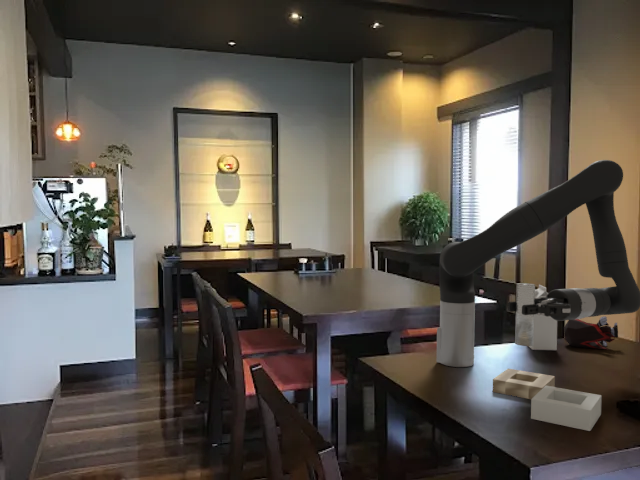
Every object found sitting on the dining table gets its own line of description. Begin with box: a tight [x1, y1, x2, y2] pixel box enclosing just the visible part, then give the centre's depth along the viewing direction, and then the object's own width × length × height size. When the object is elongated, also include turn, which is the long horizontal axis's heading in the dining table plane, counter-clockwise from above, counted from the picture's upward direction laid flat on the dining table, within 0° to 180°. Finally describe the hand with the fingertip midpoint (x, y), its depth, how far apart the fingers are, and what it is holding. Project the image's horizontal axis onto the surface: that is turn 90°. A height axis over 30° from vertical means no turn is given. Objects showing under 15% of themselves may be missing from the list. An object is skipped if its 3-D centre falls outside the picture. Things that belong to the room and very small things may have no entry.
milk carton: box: [528, 284, 558, 351], centre depth 173 cm, size 7×7×19 cm
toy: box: [563, 315, 619, 351], centre depth 175 cm, size 12×9×15 cm
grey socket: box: [530, 386, 602, 432], centre depth 116 cm, size 11×11×4 cm
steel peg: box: [514, 282, 536, 347], centre depth 132 cm, size 4×4×14 cm
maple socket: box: [492, 368, 556, 400], centre depth 133 cm, size 11×11×3 cm
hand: (516, 308), depth 130 cm, fingers closed on steel peg, 4 cm apart
